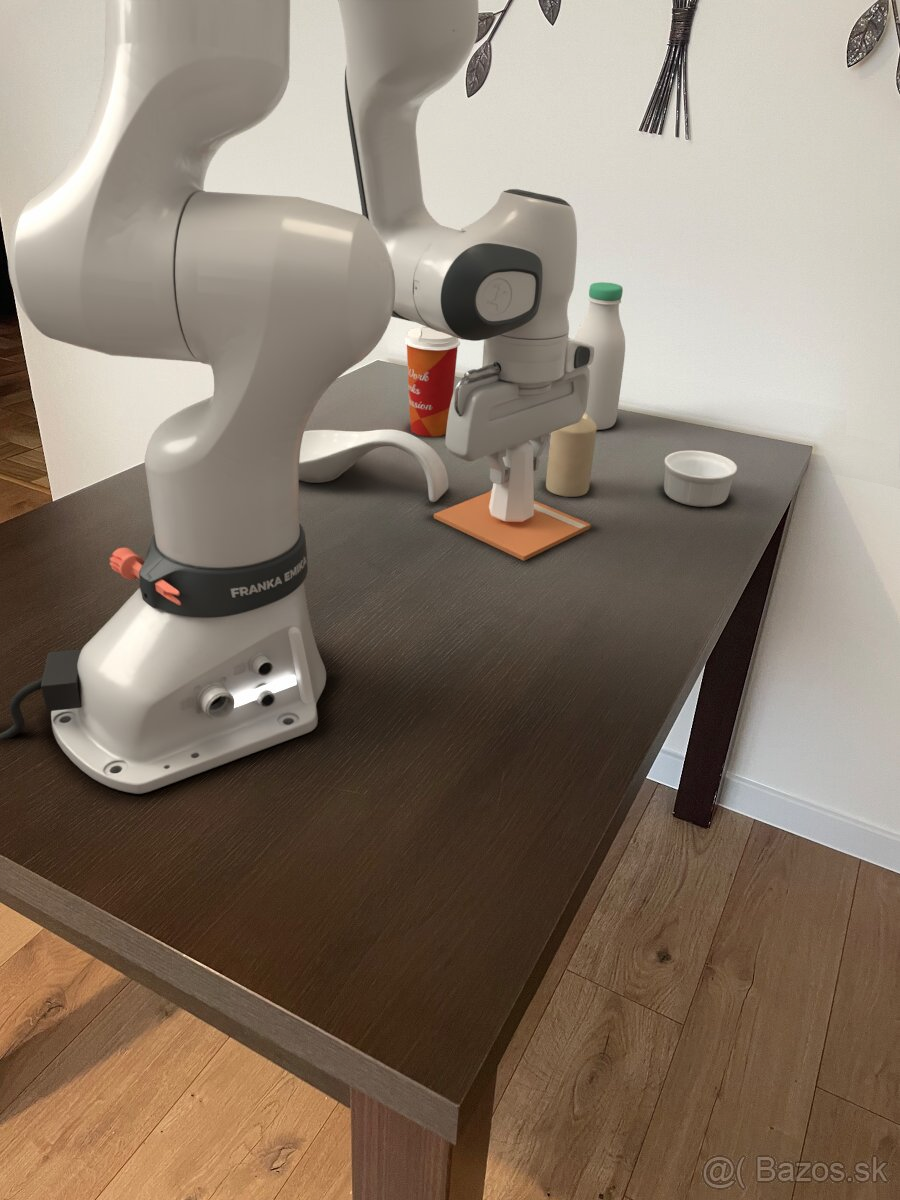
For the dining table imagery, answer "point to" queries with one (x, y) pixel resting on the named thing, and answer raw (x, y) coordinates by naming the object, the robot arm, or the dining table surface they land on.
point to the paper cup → (430, 379)
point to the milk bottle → (604, 352)
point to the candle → (571, 458)
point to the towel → (513, 527)
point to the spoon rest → (341, 449)
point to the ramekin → (698, 477)
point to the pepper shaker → (515, 486)
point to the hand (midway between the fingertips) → (514, 475)
